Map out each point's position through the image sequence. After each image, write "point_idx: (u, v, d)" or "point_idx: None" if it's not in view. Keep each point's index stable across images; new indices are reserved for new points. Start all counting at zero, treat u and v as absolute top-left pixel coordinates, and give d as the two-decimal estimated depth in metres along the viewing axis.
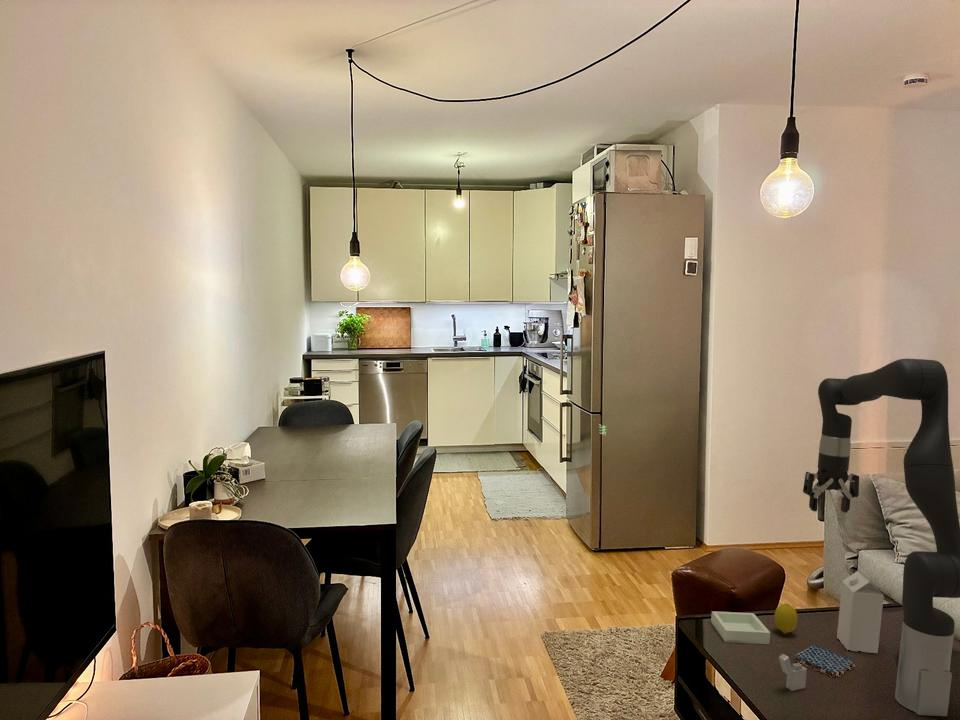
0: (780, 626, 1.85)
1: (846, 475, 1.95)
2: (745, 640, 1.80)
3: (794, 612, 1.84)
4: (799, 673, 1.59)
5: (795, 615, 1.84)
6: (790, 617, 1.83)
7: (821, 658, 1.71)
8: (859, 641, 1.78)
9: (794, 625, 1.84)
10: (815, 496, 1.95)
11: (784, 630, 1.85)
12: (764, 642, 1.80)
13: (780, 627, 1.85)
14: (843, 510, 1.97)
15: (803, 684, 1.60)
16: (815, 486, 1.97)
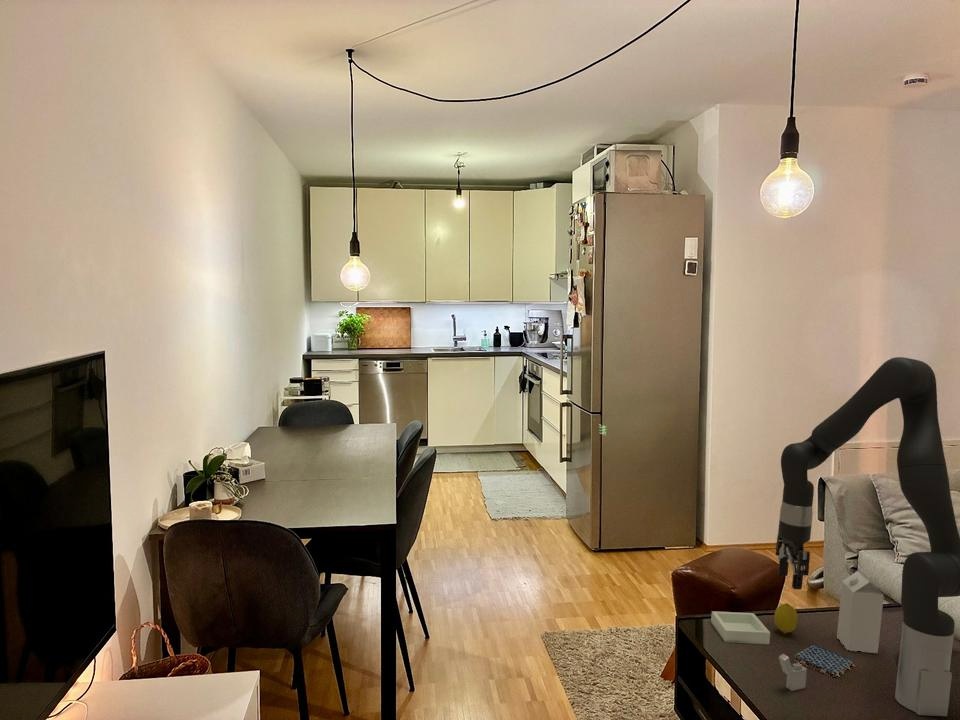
0: (780, 626, 1.85)
1: None
2: (745, 640, 1.80)
3: (794, 612, 1.84)
4: (799, 673, 1.59)
5: (795, 615, 1.84)
6: (790, 617, 1.83)
7: (821, 658, 1.71)
8: (859, 641, 1.78)
9: (794, 625, 1.84)
10: None
11: (784, 630, 1.85)
12: (764, 642, 1.80)
13: (780, 627, 1.85)
14: (784, 574, 1.89)
15: (803, 684, 1.60)
16: (794, 562, 1.81)
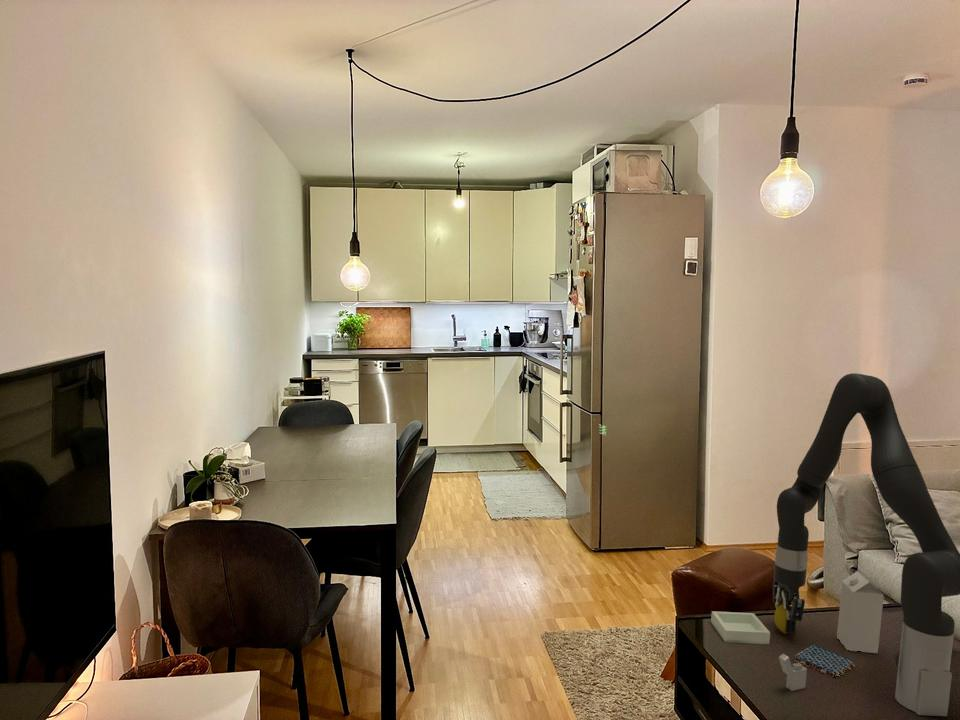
0: (780, 626, 1.85)
1: None
2: (745, 640, 1.80)
3: None
4: (799, 673, 1.59)
5: None
6: None
7: (821, 658, 1.71)
8: (859, 641, 1.78)
9: None
10: None
11: (784, 630, 1.85)
12: (764, 642, 1.80)
13: (780, 627, 1.85)
14: None
15: (803, 684, 1.60)
16: (789, 608, 1.83)
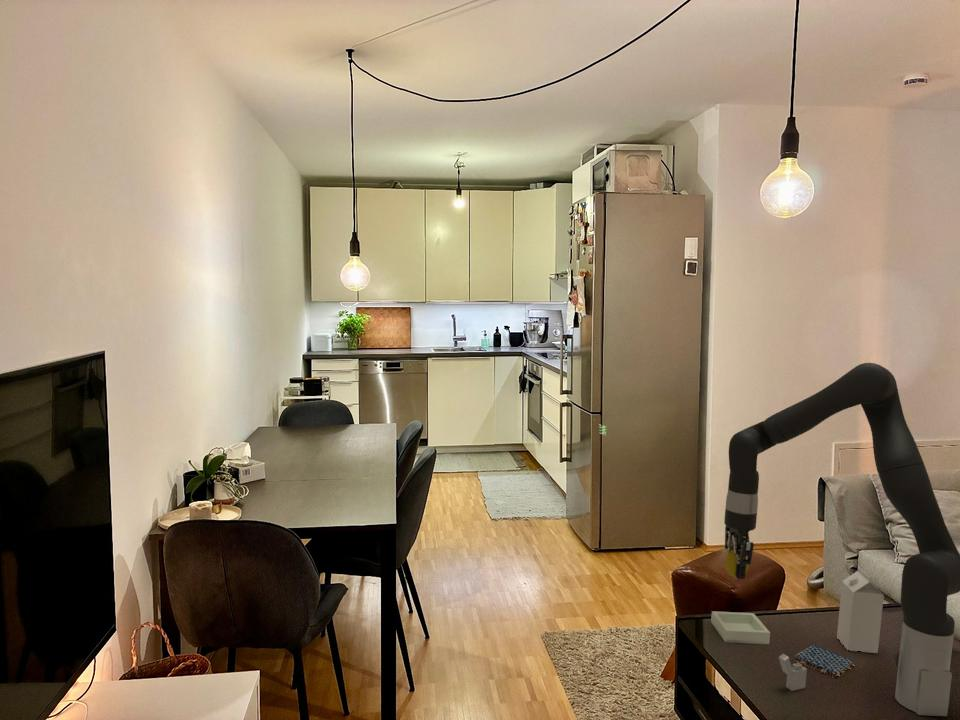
0: (730, 571, 1.82)
1: None
2: (745, 640, 1.80)
3: None
4: (799, 673, 1.59)
5: None
6: None
7: (821, 658, 1.71)
8: (859, 641, 1.78)
9: None
10: None
11: (734, 575, 1.82)
12: (764, 642, 1.80)
13: (730, 572, 1.83)
14: None
15: (803, 684, 1.60)
16: (738, 552, 1.80)
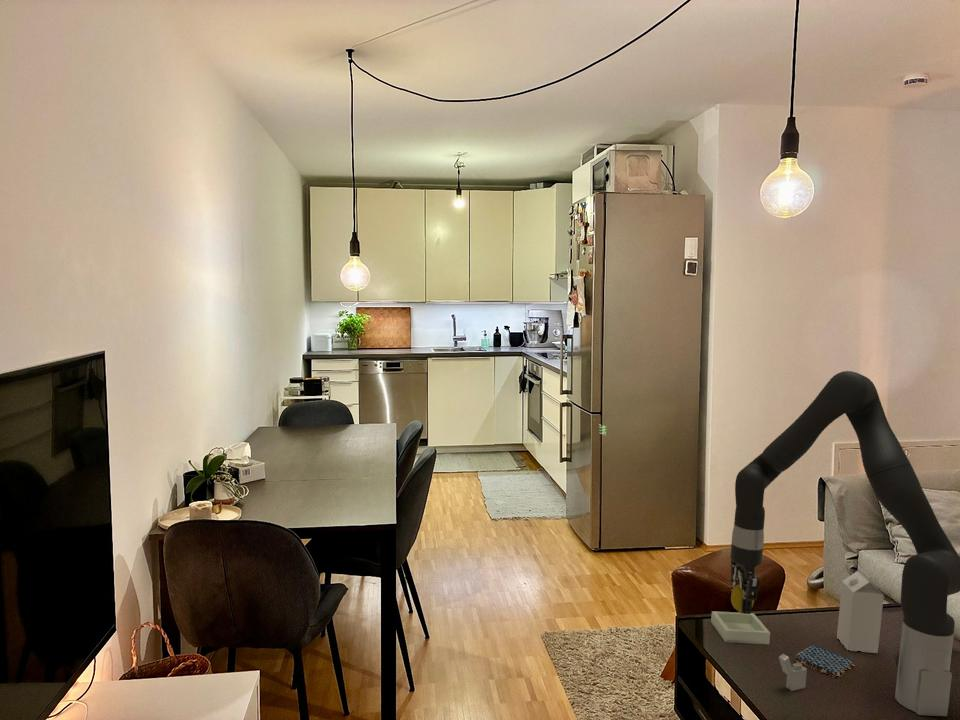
0: (736, 606, 1.83)
1: None
2: (745, 640, 1.80)
3: None
4: (799, 673, 1.59)
5: None
6: None
7: (821, 658, 1.71)
8: (859, 641, 1.78)
9: None
10: None
11: (740, 610, 1.83)
12: (764, 642, 1.80)
13: (736, 607, 1.83)
14: None
15: (803, 684, 1.60)
16: (745, 587, 1.81)
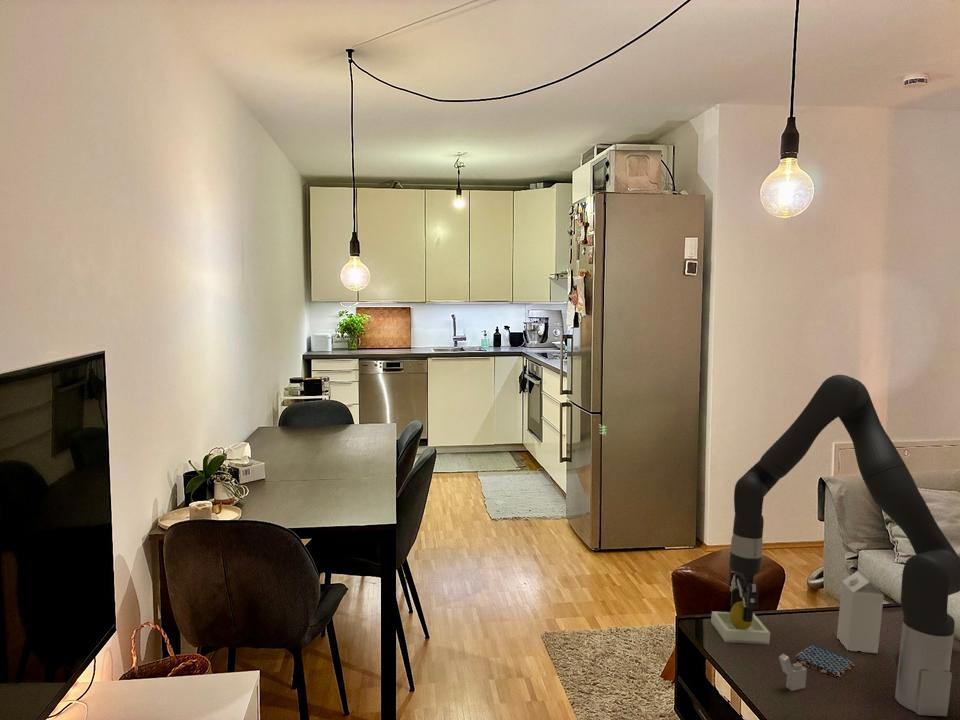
0: (735, 624, 1.83)
1: None
2: (745, 640, 1.80)
3: None
4: (799, 673, 1.59)
5: None
6: None
7: (821, 658, 1.71)
8: (859, 641, 1.78)
9: (749, 623, 1.82)
10: None
11: (739, 628, 1.83)
12: (764, 642, 1.80)
13: (735, 625, 1.83)
14: None
15: (803, 684, 1.60)
16: (745, 595, 1.81)
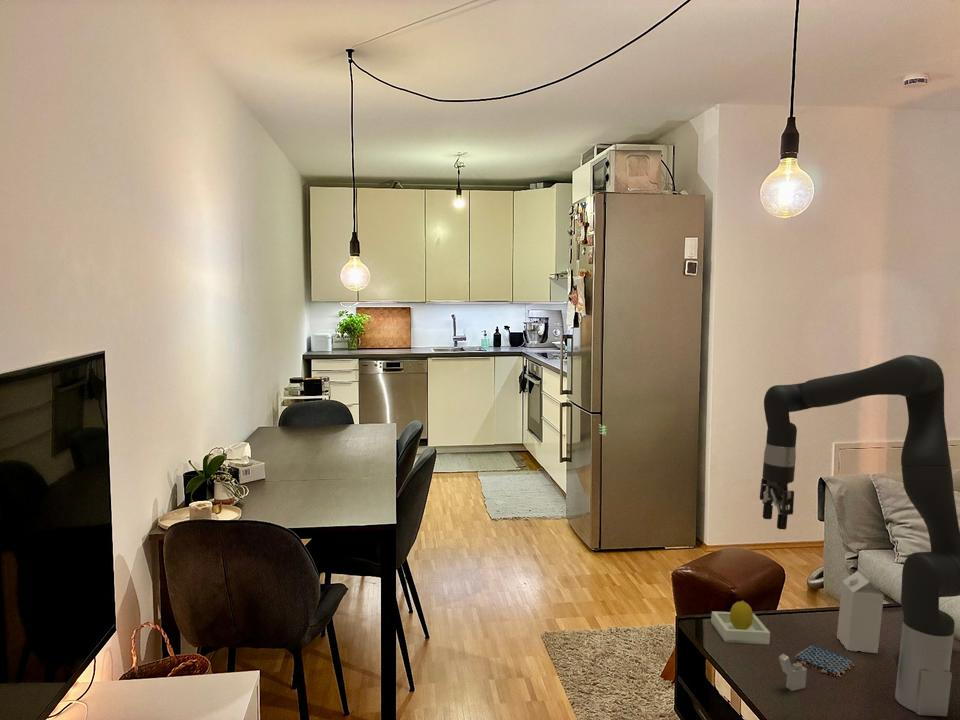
0: (735, 624, 1.83)
1: None
2: (745, 640, 1.80)
3: (749, 610, 1.83)
4: (799, 673, 1.59)
5: (750, 613, 1.83)
6: (745, 615, 1.82)
7: (821, 658, 1.71)
8: (859, 641, 1.78)
9: (749, 623, 1.82)
10: None
11: (739, 628, 1.83)
12: (764, 642, 1.80)
13: (735, 625, 1.83)
14: (768, 517, 1.92)
15: (803, 684, 1.60)
16: (779, 503, 1.84)
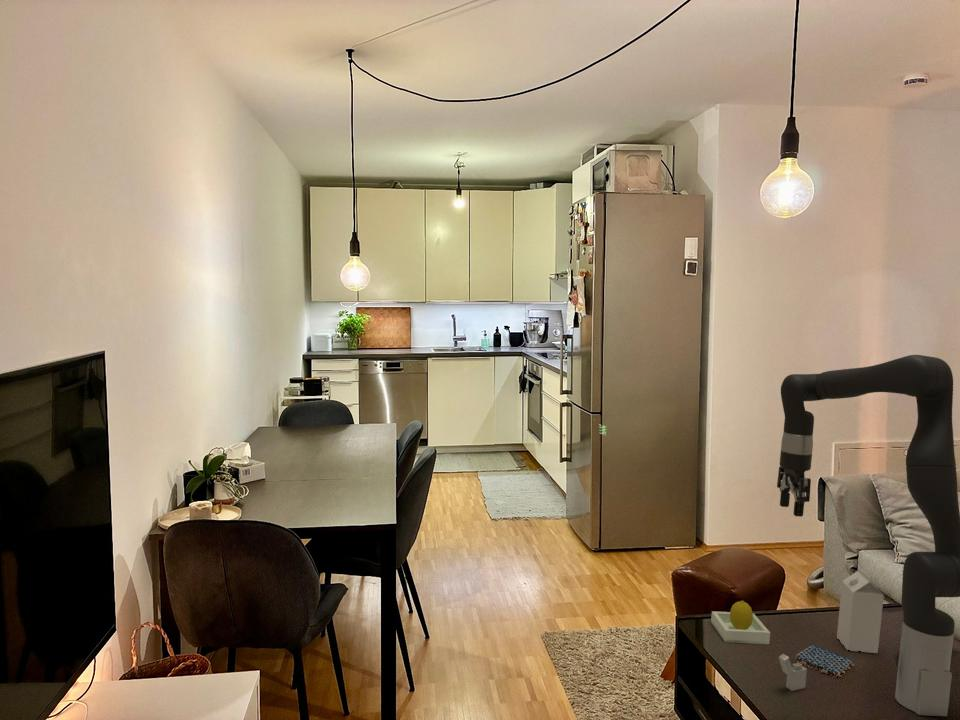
0: (735, 624, 1.83)
1: None
2: (745, 640, 1.80)
3: (749, 609, 1.83)
4: (799, 673, 1.59)
5: (750, 613, 1.83)
6: (745, 615, 1.82)
7: (821, 658, 1.71)
8: (859, 641, 1.78)
9: (749, 623, 1.82)
10: None
11: (739, 628, 1.83)
12: (764, 642, 1.80)
13: (735, 625, 1.83)
14: (785, 505, 1.95)
15: (803, 684, 1.60)
16: (796, 490, 1.86)
